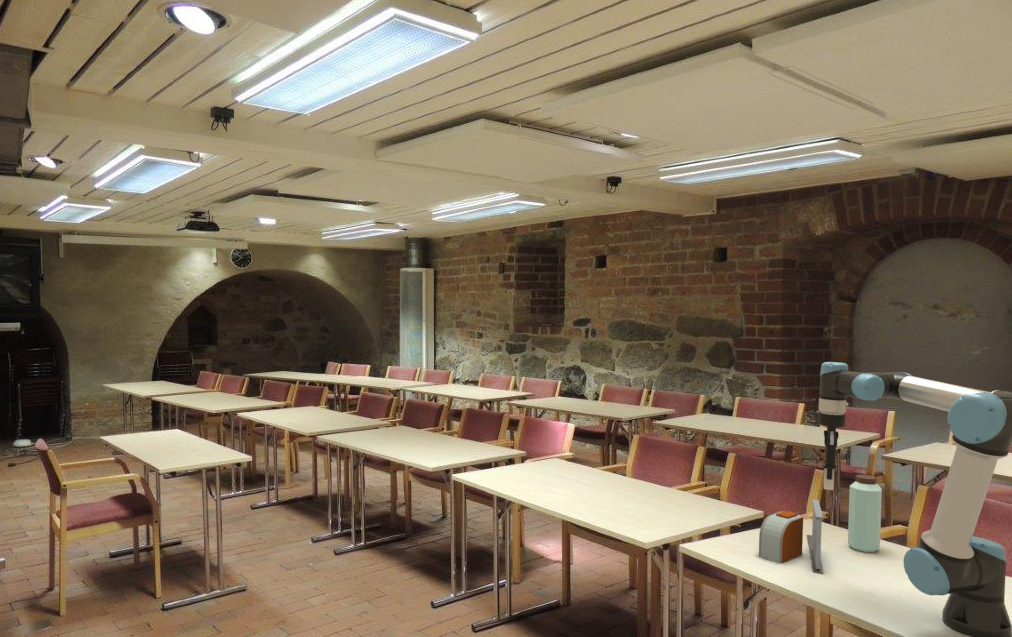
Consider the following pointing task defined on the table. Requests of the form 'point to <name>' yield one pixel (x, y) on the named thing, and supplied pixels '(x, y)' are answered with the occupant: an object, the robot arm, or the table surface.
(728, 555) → the table surface
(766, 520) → the alarm clock
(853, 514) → the water bottle
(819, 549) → the screen
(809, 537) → the rail
